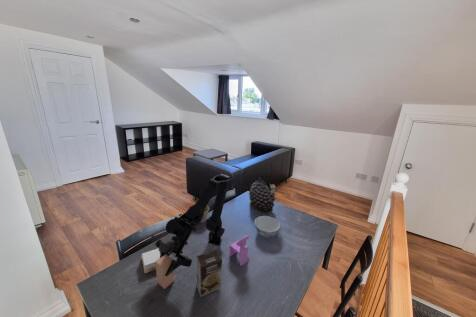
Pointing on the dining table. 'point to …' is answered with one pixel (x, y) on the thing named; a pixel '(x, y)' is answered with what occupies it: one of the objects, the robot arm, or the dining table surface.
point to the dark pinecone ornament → (262, 196)
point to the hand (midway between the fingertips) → (162, 272)
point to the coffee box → (209, 272)
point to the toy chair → (240, 249)
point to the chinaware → (267, 226)
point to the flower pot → (205, 214)
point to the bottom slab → (149, 268)
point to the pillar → (164, 271)
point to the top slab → (150, 258)
